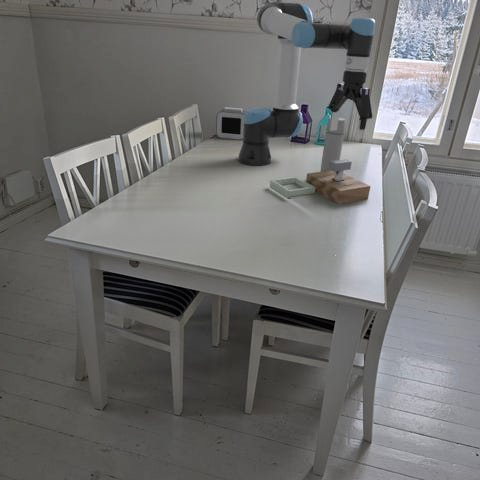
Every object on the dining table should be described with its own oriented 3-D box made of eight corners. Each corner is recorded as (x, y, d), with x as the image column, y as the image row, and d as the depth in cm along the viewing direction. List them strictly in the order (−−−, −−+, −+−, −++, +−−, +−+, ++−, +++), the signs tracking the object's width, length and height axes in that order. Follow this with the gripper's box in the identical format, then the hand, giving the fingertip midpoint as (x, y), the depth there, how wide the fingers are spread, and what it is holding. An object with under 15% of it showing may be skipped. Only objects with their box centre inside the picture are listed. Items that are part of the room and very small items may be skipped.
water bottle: (337, 183, 171) (347, 121, 160) (318, 181, 173) (326, 119, 161) (337, 176, 179) (346, 117, 168) (318, 174, 181) (327, 115, 169)
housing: (305, 188, 165) (307, 173, 162) (333, 184, 171) (335, 169, 168) (337, 206, 149) (340, 190, 146) (367, 201, 155) (370, 185, 152)
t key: (324, 192, 159) (329, 161, 153) (341, 189, 162) (346, 159, 157) (329, 194, 156) (334, 163, 151) (346, 192, 160) (351, 161, 154)
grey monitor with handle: (215, 137, 230) (216, 108, 223) (220, 133, 240) (220, 105, 233) (245, 140, 228) (246, 111, 221) (248, 135, 238) (249, 107, 231)
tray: (269, 187, 163) (270, 179, 162) (295, 184, 168) (296, 176, 167) (288, 199, 153) (288, 191, 152) (314, 195, 158) (315, 187, 157)
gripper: (323, 66, 148) (315, 127, 157) (373, 74, 128) (361, 143, 138) (340, 66, 151) (331, 126, 160) (391, 74, 131) (378, 141, 141)
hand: (345, 134), depth 149 cm, fingers open, 13 cm apart
